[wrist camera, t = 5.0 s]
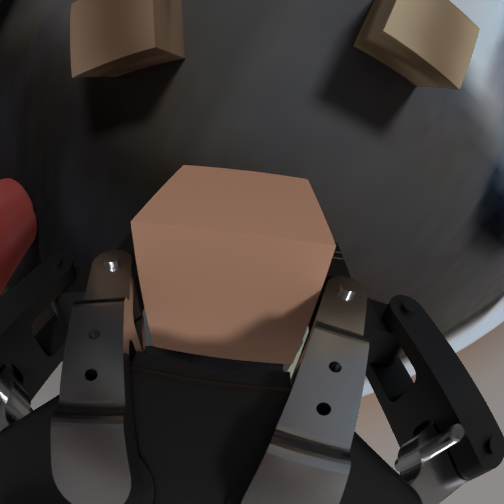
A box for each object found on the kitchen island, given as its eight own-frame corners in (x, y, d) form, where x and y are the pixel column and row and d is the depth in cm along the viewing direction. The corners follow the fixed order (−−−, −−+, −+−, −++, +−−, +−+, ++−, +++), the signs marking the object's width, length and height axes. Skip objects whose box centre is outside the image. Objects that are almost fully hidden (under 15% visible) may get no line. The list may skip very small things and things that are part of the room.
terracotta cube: (184, 265, 13) (153, 346, 9) (183, 165, 10) (131, 221, 6) (285, 277, 13) (292, 364, 9) (307, 179, 10) (335, 245, 6)
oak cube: (352, 46, 12) (383, 30, 8) (376, -6, 9) (408, -29, 5) (416, 86, 13) (459, 89, 9) (436, 35, 10) (479, 28, 6)
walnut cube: (116, 76, 14) (72, 77, 9) (113, 17, 11) (71, 4, 7) (185, 58, 13) (155, 47, 9) (181, -5, 10) (152, -32, 6)
